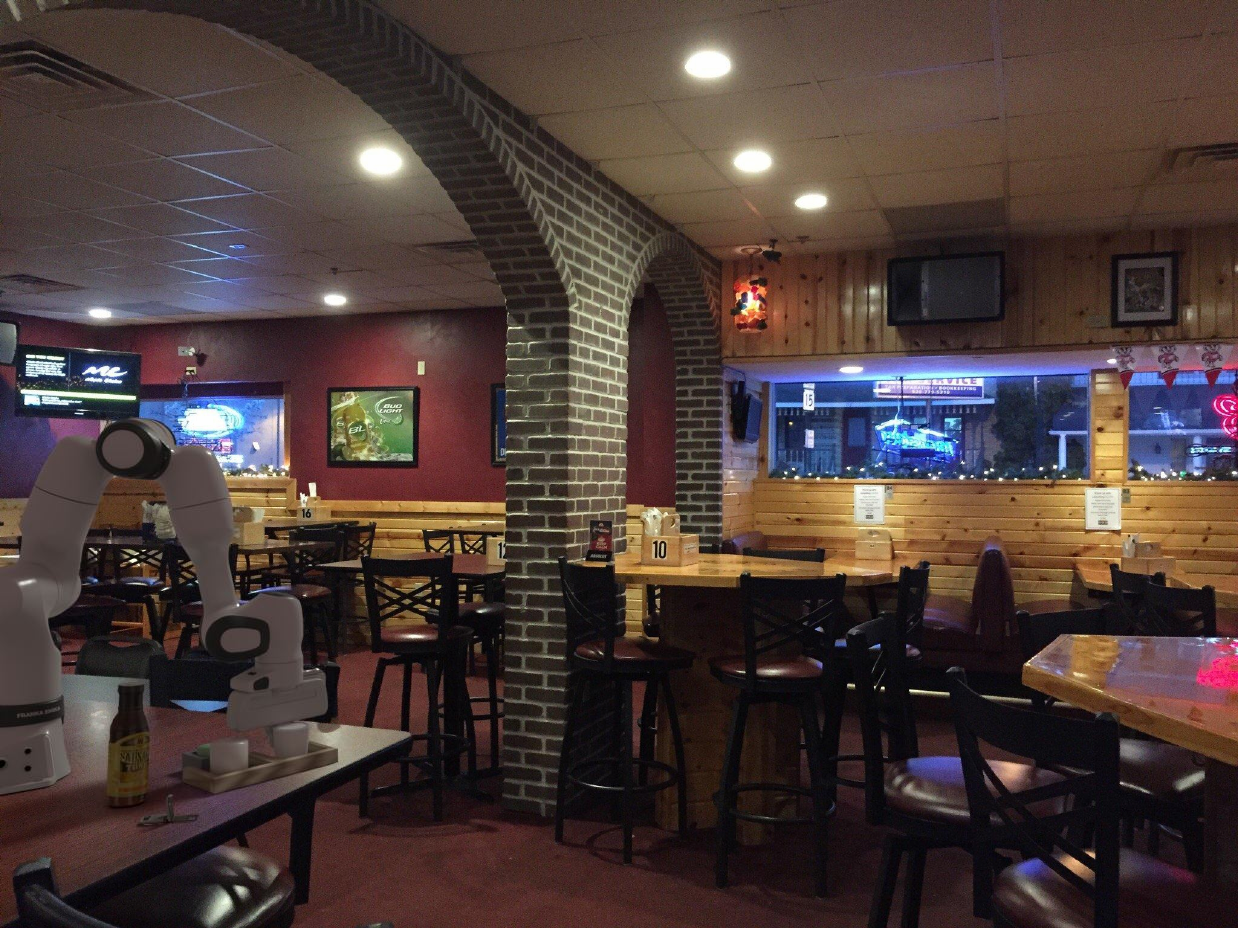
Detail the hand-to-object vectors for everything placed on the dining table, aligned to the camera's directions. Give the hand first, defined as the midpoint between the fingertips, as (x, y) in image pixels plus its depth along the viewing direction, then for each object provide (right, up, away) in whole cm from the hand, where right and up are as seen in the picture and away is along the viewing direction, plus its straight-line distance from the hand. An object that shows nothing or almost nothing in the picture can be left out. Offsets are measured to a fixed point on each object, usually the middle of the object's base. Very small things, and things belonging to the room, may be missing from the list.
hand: (279, 746), depth 194 cm
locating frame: (-1, -2, -8) cm, 9 cm away
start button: (-11, -1, -7) cm, 13 cm away
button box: (-11, -2, -7) cm, 13 cm away
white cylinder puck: (-4, -2, -14) cm, 15 cm away
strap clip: (-6, -2, -35) cm, 36 cm away
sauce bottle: (-16, -2, -26) cm, 31 cm away
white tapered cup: (+3, -3, -3) cm, 5 cm away
